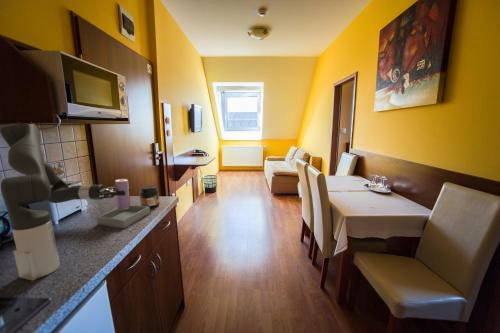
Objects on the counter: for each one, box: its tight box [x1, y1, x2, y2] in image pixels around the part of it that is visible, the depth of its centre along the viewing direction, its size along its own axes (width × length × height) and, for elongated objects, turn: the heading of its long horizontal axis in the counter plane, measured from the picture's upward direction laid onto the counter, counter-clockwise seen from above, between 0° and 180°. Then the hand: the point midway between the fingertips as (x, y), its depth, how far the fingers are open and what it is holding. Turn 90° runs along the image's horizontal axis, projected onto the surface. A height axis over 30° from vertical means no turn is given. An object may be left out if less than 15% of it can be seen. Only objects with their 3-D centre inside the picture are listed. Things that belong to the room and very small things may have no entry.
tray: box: [96, 204, 151, 229], centre depth 115 cm, size 18×16×4 cm
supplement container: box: [138, 184, 160, 209], centre depth 132 cm, size 10×10×12 cm
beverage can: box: [114, 178, 131, 210], centre depth 113 cm, size 6×6×15 cm
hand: (127, 191), depth 112 cm, fingers closed on beverage can, 5 cm apart
